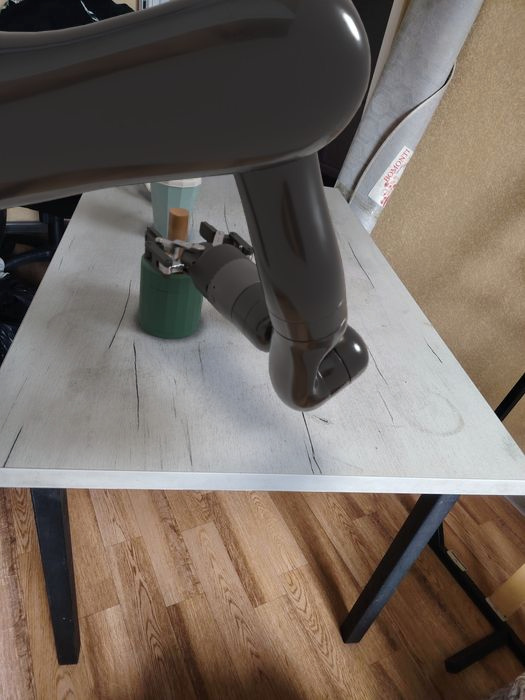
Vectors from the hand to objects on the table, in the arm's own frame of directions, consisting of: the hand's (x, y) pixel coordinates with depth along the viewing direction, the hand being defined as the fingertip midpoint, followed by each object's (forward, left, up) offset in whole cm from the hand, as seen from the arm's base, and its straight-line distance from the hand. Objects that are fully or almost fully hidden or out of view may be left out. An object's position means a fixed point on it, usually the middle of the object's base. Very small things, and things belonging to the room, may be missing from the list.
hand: (176, 229), depth 69 cm
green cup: (0, 0, -16) cm, 16 cm away
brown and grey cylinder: (0, 0, -15) cm, 15 cm away
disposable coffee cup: (+9, +30, -16) cm, 35 cm away
